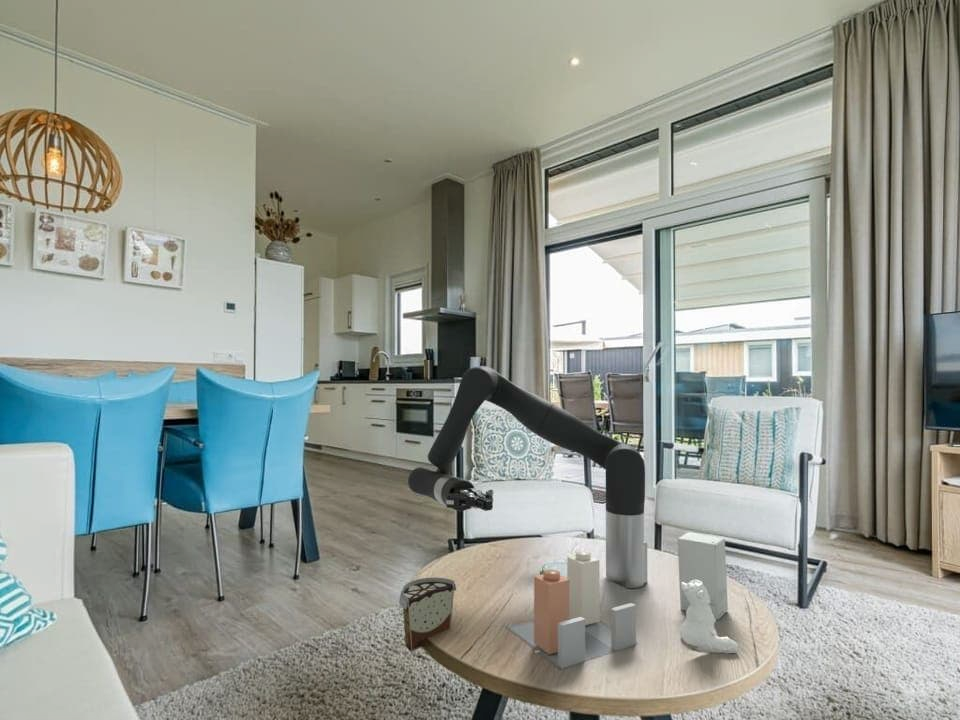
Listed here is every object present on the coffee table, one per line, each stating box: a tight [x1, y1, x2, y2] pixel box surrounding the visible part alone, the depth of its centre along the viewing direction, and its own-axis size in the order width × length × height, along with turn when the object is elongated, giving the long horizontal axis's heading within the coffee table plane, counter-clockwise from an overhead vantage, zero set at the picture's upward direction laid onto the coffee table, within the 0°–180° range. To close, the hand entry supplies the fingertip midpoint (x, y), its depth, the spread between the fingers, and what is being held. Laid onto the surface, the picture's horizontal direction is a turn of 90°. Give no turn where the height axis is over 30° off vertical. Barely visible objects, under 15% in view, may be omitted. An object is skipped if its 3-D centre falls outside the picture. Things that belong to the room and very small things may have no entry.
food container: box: [398, 577, 457, 653], centre depth 100 cm, size 12×6×10 cm, turn 134°
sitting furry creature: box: [679, 580, 739, 654], centre depth 97 cm, size 10×9×12 cm
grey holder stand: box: [505, 602, 639, 671], centre depth 98 cm, size 18×17×8 cm
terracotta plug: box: [533, 568, 569, 655], centre depth 94 cm, size 4×4×13 cm
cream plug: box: [566, 550, 601, 625], centre depth 104 cm, size 4×4×13 cm
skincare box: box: [677, 531, 729, 621], centre depth 113 cm, size 8×7×16 cm
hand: (489, 505), depth 114 cm, fingers closed
